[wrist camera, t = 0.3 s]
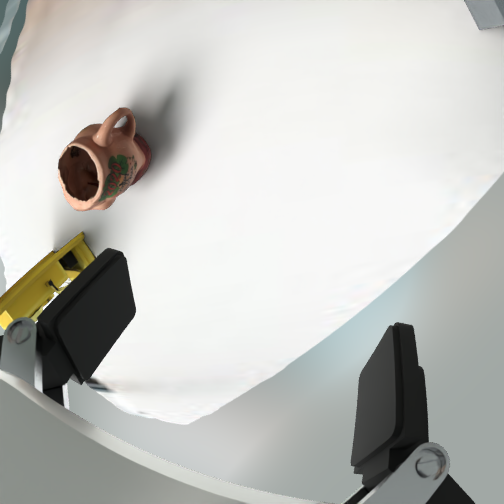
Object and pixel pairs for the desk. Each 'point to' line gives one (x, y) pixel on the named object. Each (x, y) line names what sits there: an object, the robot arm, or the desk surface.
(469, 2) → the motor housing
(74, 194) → the decorative planter
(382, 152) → the desk surface
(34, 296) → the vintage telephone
